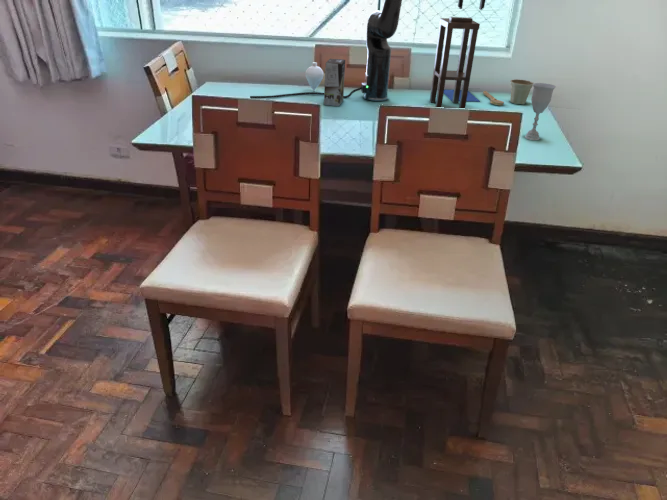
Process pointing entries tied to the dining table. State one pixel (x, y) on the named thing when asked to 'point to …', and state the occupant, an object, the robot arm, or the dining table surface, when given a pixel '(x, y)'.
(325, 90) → the coffee box
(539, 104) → the chalice
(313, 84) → the spinning top
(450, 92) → the cloth
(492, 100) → the spoon
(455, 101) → the stand
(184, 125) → the dining table surface
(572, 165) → the dining table surface
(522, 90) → the flower pot
